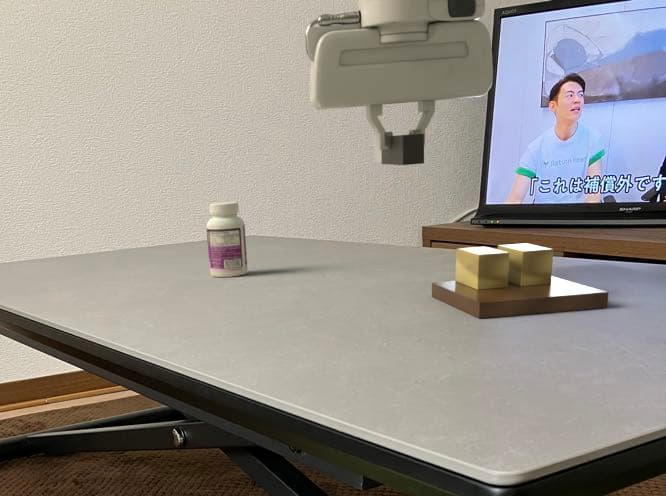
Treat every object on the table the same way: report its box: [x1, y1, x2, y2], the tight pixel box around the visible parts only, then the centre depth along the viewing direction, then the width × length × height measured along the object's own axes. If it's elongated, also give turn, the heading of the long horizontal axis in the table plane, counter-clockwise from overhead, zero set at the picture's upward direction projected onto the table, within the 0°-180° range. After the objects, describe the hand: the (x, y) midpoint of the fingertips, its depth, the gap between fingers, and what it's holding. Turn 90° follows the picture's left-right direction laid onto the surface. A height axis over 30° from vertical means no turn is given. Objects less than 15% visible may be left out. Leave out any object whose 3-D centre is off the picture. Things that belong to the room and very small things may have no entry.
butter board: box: [431, 242, 610, 319], centre depth 93 cm, size 13×15×5 cm
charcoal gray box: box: [373, 134, 425, 166], centre depth 106 cm, size 18×2×3 cm, turn 7°
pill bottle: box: [205, 201, 249, 278], centre depth 126 cm, size 5×5×10 cm
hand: (401, 147), depth 103 cm, fingers closed on charcoal gray box, 2 cm apart
